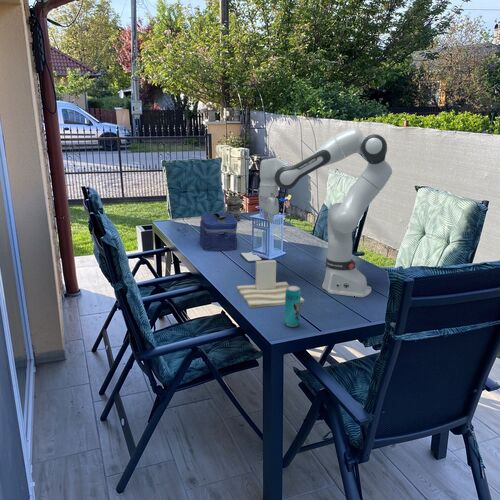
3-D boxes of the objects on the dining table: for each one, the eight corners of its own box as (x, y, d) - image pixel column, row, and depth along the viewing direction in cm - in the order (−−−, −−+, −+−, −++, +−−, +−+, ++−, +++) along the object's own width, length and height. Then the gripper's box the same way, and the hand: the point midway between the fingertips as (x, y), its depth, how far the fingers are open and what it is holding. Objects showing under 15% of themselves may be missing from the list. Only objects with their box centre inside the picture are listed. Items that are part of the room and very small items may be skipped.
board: (236, 288, 225) (236, 285, 225) (285, 284, 232) (285, 281, 231) (250, 308, 203) (250, 305, 203) (304, 302, 209) (304, 300, 209)
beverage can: (293, 329, 184) (294, 291, 180) (281, 324, 188) (282, 288, 184) (302, 324, 188) (303, 287, 184) (290, 320, 192) (291, 284, 188)
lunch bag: (240, 252, 284) (241, 217, 278) (205, 254, 279) (204, 219, 273) (230, 238, 313) (230, 207, 307) (198, 240, 308) (197, 208, 302)
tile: (274, 286, 225) (274, 259, 221) (275, 288, 223) (276, 261, 219) (255, 288, 223) (255, 261, 219) (256, 290, 220) (257, 262, 217)
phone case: (263, 262, 266) (254, 254, 281) (263, 259, 266) (254, 251, 280) (247, 264, 263) (239, 255, 278) (247, 261, 263) (239, 252, 278)
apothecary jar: (237, 222, 357) (237, 198, 352) (222, 221, 361) (222, 197, 356) (243, 219, 368) (244, 195, 363) (229, 218, 372) (229, 194, 367)
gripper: (282, 195, 218) (281, 225, 222) (269, 188, 237) (268, 216, 241) (269, 195, 216) (268, 226, 220) (256, 188, 235) (256, 216, 239)
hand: (268, 220), depth 231 cm, fingers open, 5 cm apart
